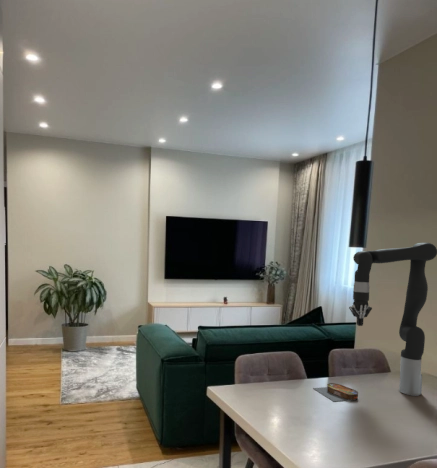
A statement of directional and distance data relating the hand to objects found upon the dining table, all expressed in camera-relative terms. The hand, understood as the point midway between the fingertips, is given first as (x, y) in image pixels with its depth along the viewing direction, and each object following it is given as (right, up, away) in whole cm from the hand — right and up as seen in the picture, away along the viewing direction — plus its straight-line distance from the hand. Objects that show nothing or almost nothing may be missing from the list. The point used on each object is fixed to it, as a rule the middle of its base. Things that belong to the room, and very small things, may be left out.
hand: (359, 325), depth 188 cm
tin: (-9, -29, -8) cm, 32 cm away
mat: (-16, -30, -11) cm, 36 cm away
